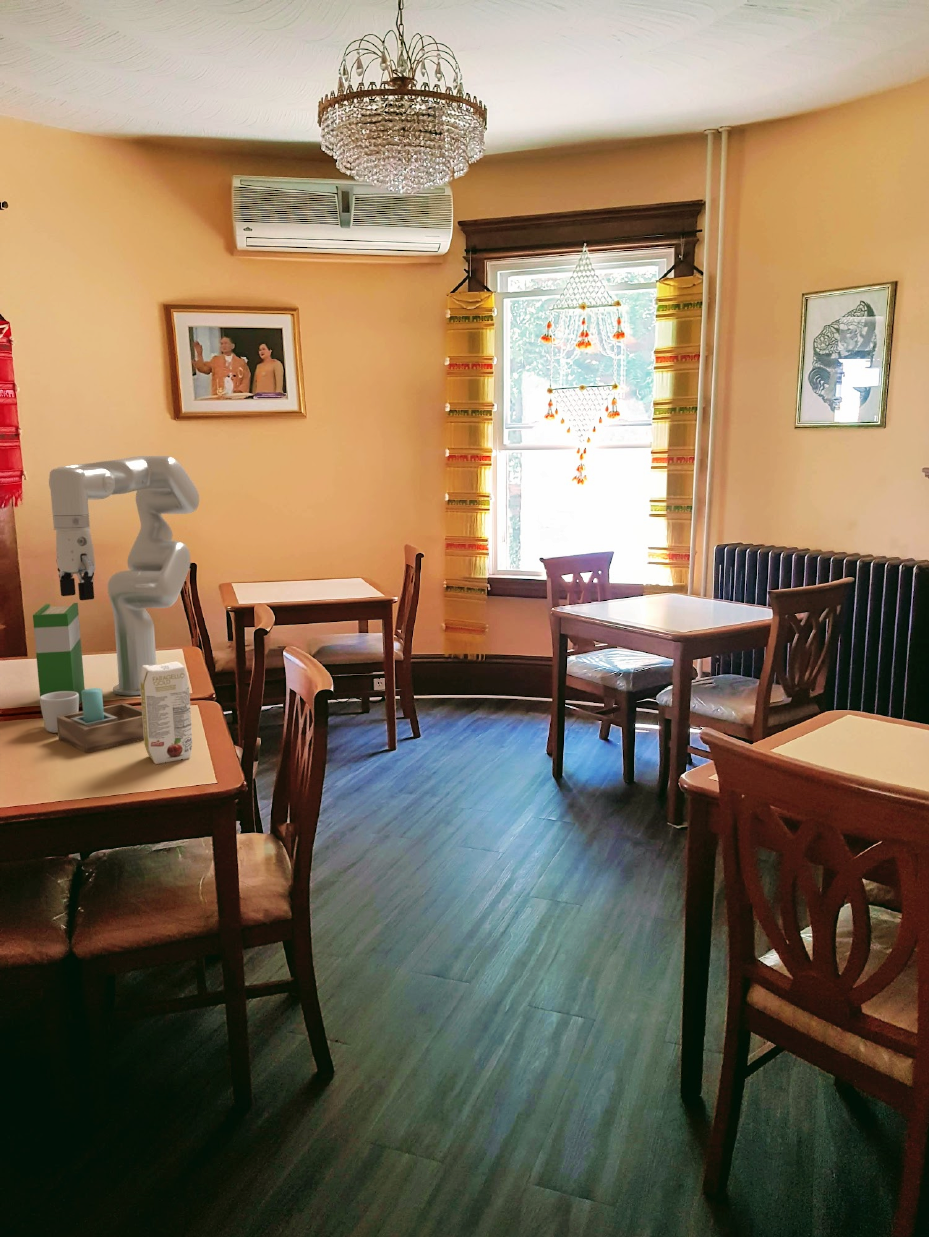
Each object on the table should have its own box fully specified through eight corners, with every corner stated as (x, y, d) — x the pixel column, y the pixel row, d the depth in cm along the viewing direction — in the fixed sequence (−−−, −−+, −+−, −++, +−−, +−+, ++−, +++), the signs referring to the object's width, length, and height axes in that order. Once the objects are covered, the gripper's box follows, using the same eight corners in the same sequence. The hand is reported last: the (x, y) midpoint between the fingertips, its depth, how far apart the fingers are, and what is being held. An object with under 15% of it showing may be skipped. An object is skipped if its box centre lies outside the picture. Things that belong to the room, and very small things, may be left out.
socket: (104, 729, 191) (102, 711, 190) (118, 735, 186) (117, 717, 186) (72, 736, 186) (70, 718, 185) (86, 743, 181) (85, 724, 181)
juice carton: (195, 758, 174) (190, 666, 171) (151, 766, 170) (145, 672, 167) (185, 748, 181) (180, 659, 177) (142, 756, 176) (136, 664, 173)
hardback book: (53, 696, 223) (45, 604, 219) (85, 694, 225) (77, 602, 221) (41, 714, 206) (32, 615, 202) (75, 712, 208) (67, 613, 204)
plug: (100, 731, 189) (96, 687, 187) (108, 735, 186) (105, 690, 185) (81, 736, 186) (78, 690, 184) (90, 739, 183) (86, 694, 182)
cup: (31, 727, 196) (28, 693, 194) (67, 720, 201) (64, 687, 200) (51, 737, 188) (48, 702, 187) (87, 729, 194) (84, 695, 193)
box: (125, 724, 198) (123, 702, 197) (155, 736, 189) (154, 714, 188) (58, 738, 187) (56, 716, 186) (87, 753, 178) (85, 729, 177)
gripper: (105, 523, 194) (110, 599, 197) (71, 520, 205) (77, 592, 208) (71, 525, 188) (77, 603, 191) (39, 522, 200) (45, 595, 203)
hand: (77, 597), depth 200 cm, fingers open, 9 cm apart
